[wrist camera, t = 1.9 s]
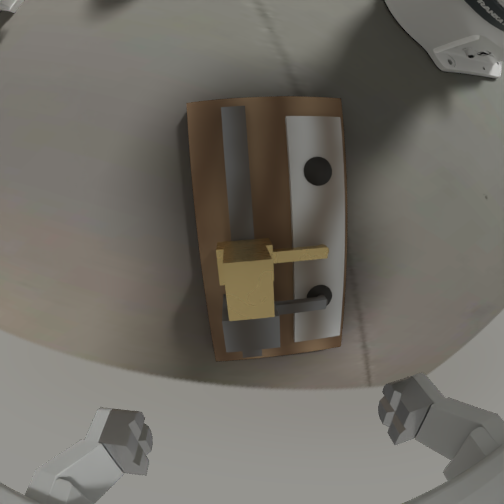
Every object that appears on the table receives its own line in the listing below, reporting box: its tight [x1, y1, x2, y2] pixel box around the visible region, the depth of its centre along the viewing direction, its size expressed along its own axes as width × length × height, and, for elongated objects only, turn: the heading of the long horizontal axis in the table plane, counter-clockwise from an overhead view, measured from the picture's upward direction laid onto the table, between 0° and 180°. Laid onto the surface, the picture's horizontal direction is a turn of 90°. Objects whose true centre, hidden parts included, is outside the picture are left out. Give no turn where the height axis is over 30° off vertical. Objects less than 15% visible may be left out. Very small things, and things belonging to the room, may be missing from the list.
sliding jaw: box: [216, 238, 329, 321], centre depth 22 cm, size 10×4×8 cm, turn 94°
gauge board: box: [187, 96, 347, 361], centre depth 24 cm, size 14×26×8 cm, turn 4°
